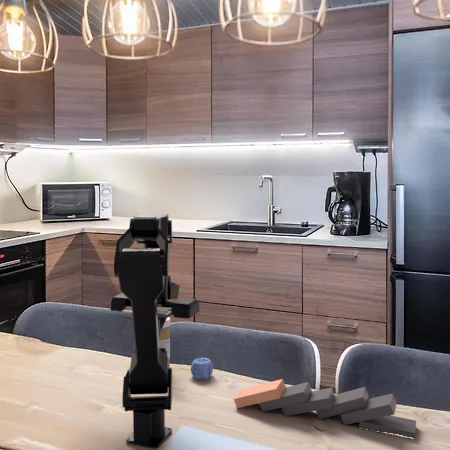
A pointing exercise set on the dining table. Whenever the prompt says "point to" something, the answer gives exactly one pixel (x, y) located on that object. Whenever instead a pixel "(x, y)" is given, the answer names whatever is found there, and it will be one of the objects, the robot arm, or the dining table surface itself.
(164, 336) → the sprinkles bottle
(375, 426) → the domino
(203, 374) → the decorative dice
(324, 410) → the domino
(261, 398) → the domino
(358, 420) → the domino
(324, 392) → the domino
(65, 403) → the dining table surface
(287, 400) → the domino
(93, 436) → the dining table surface
